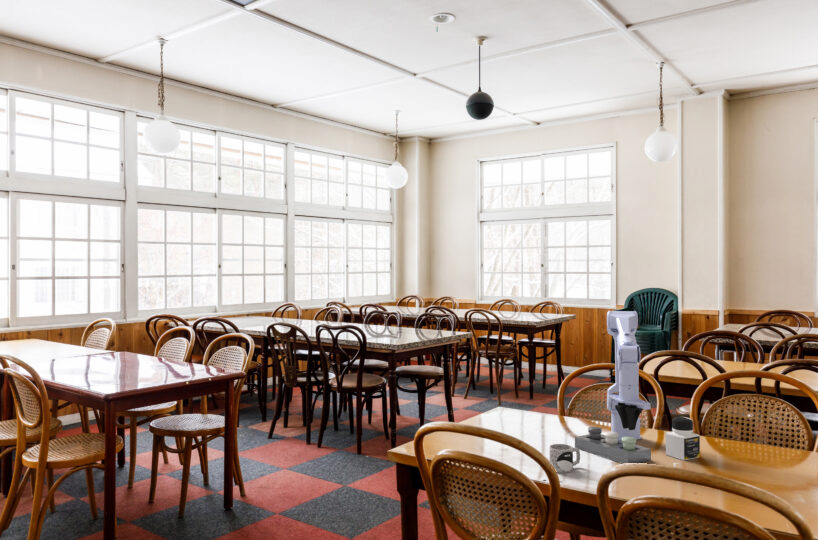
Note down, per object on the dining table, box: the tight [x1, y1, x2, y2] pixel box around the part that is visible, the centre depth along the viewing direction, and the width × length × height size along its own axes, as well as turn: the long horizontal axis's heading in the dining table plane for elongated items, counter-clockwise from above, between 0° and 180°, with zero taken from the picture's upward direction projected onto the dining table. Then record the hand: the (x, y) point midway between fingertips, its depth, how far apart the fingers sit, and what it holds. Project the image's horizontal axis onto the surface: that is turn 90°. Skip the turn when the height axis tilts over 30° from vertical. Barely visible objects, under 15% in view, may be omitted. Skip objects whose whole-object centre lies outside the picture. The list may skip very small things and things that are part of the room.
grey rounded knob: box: [587, 426, 603, 440], centre depth 206 cm, size 4×4×4 cm
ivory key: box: [604, 431, 619, 445], centre depth 200 cm, size 4×4×4 cm
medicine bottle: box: [665, 416, 701, 462], centre depth 197 cm, size 7×7×12 cm
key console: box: [574, 433, 652, 464], centre depth 200 cm, size 10×22×4 cm, turn 29°
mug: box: [549, 443, 581, 474], centre depth 185 cm, size 10×7×7 cm
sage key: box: [622, 437, 637, 451], centre depth 194 cm, size 4×4×4 cm
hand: (628, 428), depth 194 cm, fingers closed
